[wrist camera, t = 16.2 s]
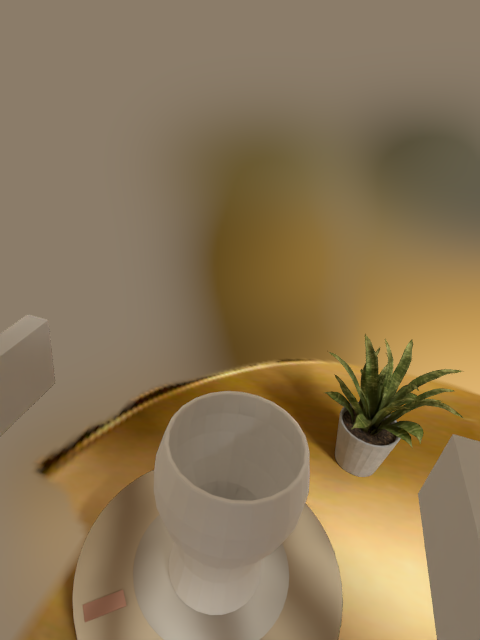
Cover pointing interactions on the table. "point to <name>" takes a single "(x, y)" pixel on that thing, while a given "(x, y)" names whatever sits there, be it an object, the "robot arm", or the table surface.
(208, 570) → the cup
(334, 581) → the turntable platter
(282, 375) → the table surface
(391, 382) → the house plant
